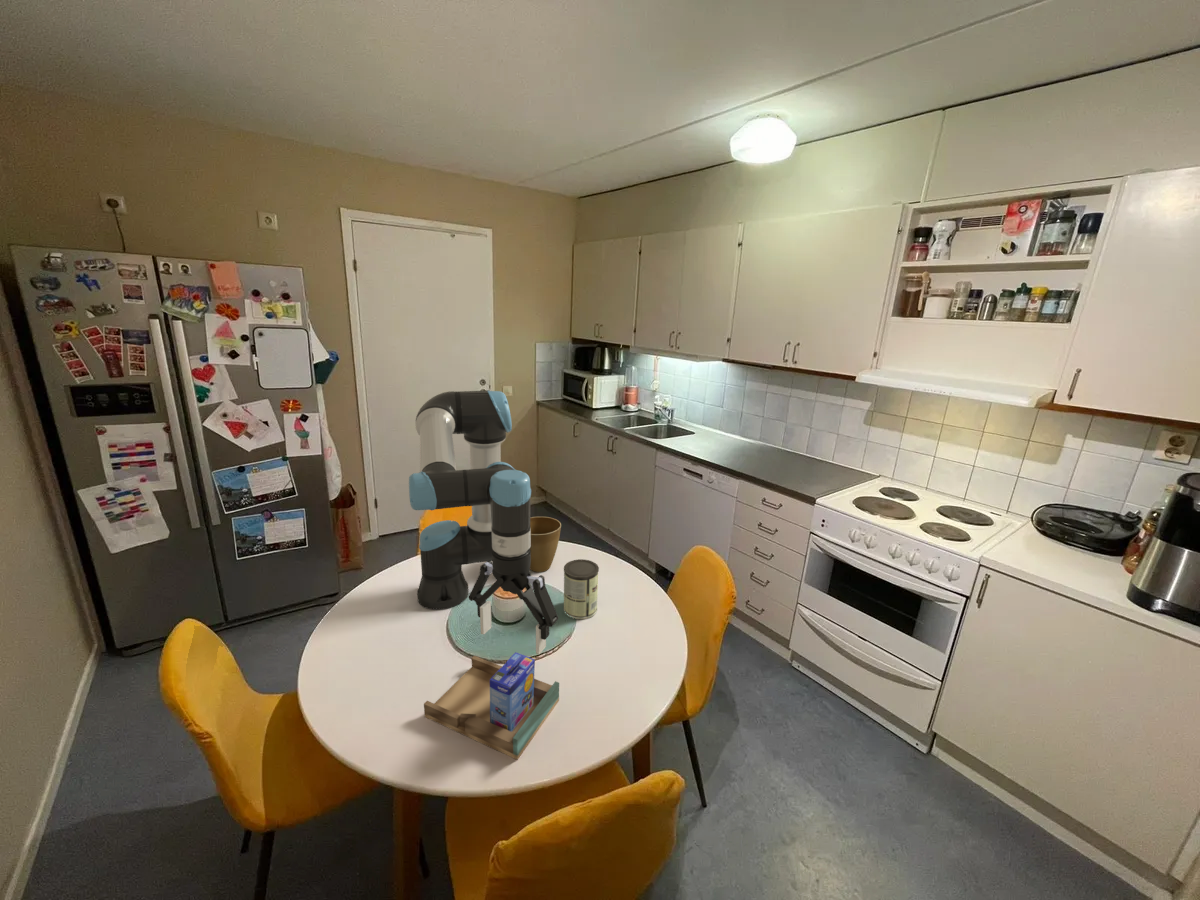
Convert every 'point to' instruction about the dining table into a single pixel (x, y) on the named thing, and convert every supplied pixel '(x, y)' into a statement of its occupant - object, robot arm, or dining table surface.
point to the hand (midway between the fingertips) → (512, 640)
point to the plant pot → (543, 542)
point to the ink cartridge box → (512, 691)
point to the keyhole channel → (471, 710)
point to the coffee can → (580, 588)
